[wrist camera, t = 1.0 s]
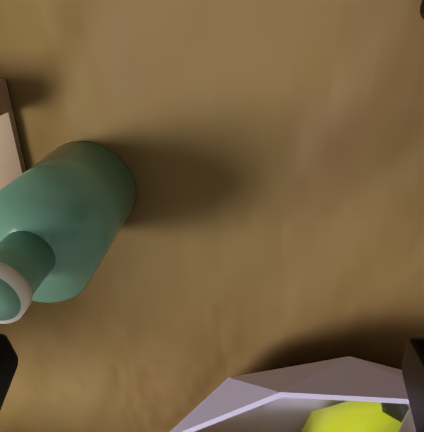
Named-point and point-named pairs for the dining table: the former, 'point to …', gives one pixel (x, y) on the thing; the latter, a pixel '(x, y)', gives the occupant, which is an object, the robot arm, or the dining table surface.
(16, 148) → the shallow wooden tray
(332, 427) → the fruit bowl
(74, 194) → the bottle
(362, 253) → the dining table surface
